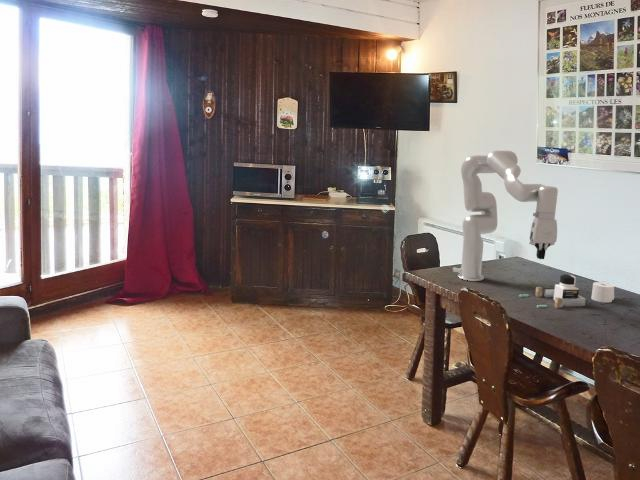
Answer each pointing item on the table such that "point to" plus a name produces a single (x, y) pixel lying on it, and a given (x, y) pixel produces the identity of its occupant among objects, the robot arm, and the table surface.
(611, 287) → the toilet paper
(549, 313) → the table surface
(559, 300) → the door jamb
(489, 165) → the robot arm
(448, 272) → the table surface
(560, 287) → the medicine bottle
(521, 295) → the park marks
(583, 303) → the index socket
